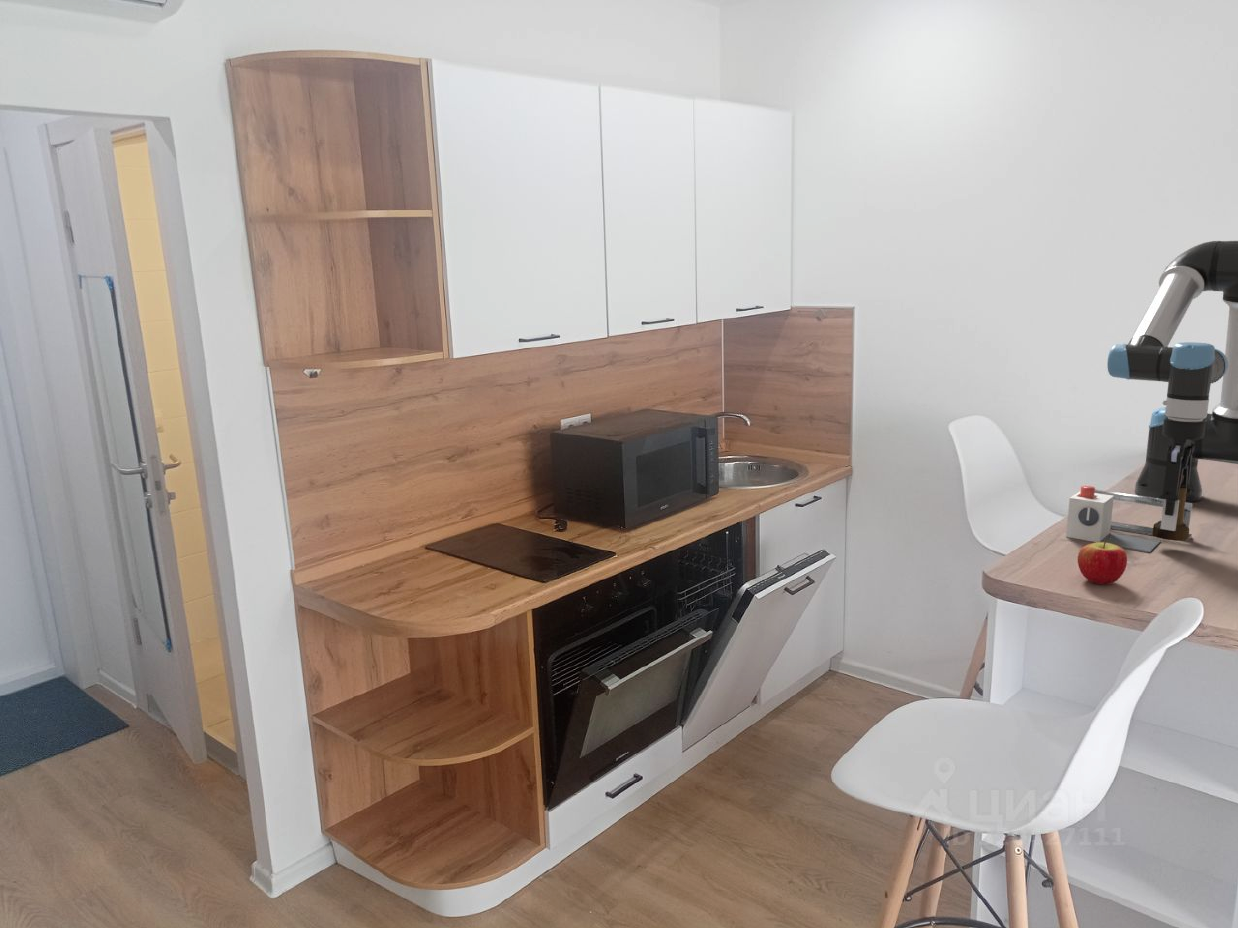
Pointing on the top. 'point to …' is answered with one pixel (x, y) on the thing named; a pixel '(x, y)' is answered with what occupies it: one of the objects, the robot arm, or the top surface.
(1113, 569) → the apple
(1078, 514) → the white dial box
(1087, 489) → the button
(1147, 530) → the handrail
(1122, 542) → the pad
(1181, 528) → the brown wooden tall piece
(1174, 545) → the top surface
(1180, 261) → the robot arm
